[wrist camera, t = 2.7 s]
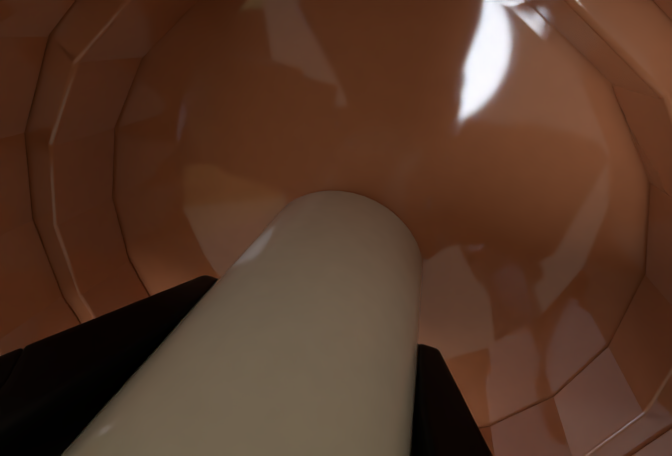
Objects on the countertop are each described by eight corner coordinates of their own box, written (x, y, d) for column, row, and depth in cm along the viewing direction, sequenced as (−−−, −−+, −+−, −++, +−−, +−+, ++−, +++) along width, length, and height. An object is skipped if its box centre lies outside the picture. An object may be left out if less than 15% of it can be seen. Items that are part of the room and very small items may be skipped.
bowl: (887, 263, 8) (1340, 497, 4) (375, 491, 16) (354, 641, 12) (264, -387, 6) (-85, -1225, 2) (41, 248, 14) (-114, 332, 10)
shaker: (460, 268, 9) (536, 1098, 2) (351, 351, 12) (201, 898, 4) (325, 153, 9) (-209, 712, 2) (238, 262, 11) (-157, 712, 4)
